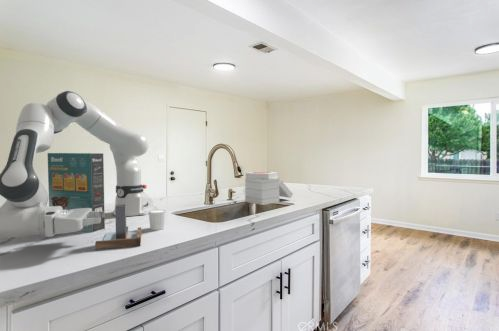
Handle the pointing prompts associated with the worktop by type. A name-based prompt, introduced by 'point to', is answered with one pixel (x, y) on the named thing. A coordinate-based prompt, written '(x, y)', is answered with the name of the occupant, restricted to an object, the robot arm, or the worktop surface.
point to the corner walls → (119, 242)
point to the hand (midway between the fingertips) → (102, 217)
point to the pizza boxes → (264, 188)
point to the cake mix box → (77, 183)
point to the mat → (113, 237)
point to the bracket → (121, 222)
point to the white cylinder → (157, 219)
